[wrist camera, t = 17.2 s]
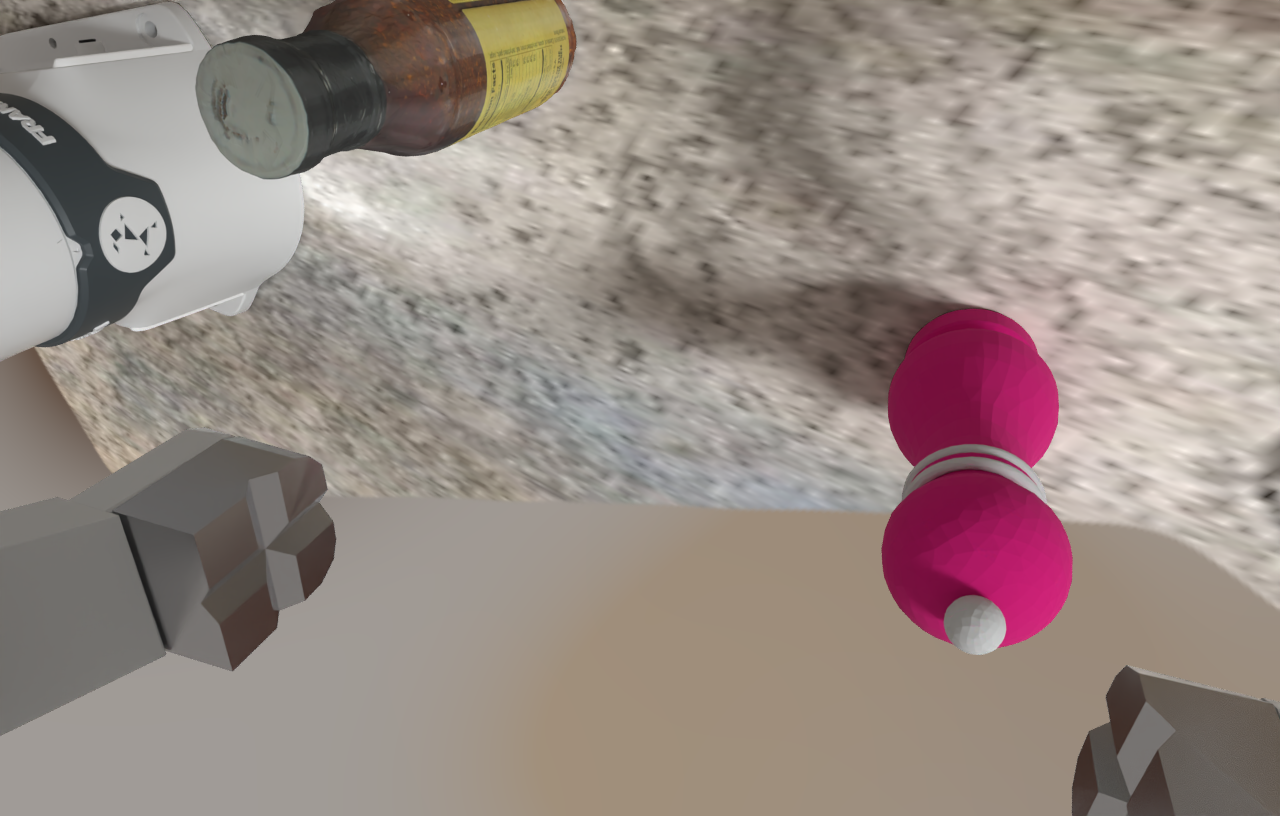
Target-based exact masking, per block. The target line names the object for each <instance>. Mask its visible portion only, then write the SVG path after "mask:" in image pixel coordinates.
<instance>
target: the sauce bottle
mask: <svg viewBox="0 0 1280 816" xmlns="http://www.w3.org/2000/svg"><path fill="white" fill-rule="evenodd" d="M575 50H576V35H575V32H574V28H573V24H572V20H571V18H570V17H569V14H568V12H567V9H566V7H565V6H564V4H563V3H562V1H561V0H336V1H334V2H333V3H331V4H329V5H326V6H324V7H320V8H319V9H317V10H315V11H314V13H313V16H312V18H311V21H310V22H309V24H308V25H307V27H306V29H305V30H304V32H303V33H301V34H299V35H297V36H295V37H290V38H285V39H274V38H271V37H267V36H261V35H250V36H243V37H240V38H237V39H233V40H230V41H227V42H224V43H222V44H217V45H216V46H214V47H213V48H212V49H211V50H209V51H208V52H207V54H206V55H205V57H204V59H203V60H202V61H201V63H200V64H199V68H198V72H197V76H196V85H195V90H196V97H197V102H198V107H199V110H200V114H201V117H202V119H203V121H204V124H205V126H206V128H207V131H208V133H209V135H210V138H211V140H212V141H213V142H214V143H215V145H216V146H217V148H218V149H219V151H220V153H221V154H222V155H223V156H224V157H225V158H226V159H227V160H228V161H230V162H231V163H232V164H233V165H235V166H236V167H238V168H239V169H240V170H242V171H244V172H247V173H249V174H251V175H254V176H257V177H259V178H262V179H280V178H285V177H288V176H291V175H295V174H299V173H302V172H305V171H308V170H309V169H311V168H313V167H314V166H316V165H317V164H318V163H320V162H321V160H322V159H323V158H324V157H326V156H329V155H331V154H334V153H337V152H340V151H350V150H354V149H364V150H371V151H378V152H385V153H388V154H391V155H396V156H419V155H426V154H430V153H433V152H436V151H439V150H441V149H444V148H446V147H448V146H451V145H453V144H455V143H457V142H460V141H462V140H464V139H466V138H468V137H470V136H472V135H475V134H477V133H479V132H482V131H484V130H486V129H489V128H491V127H493V126H496V125H498V124H500V123H502V122H504V121H506V120H509V119H511V118H513V117H516V116H518V115H520V114H523V113H525V112H527V111H530V110H532V109H534V108H536V107H538V106H540V105H542V104H543V103H544V102H546V101H547V100H548V99H549V98H550V97H552V95H553V94H555V93H557V92H558V91H559V90H560V89H561V87H562V86H563V84H564V82H565V81H566V78H567V77H568V75H569V71H570V70H571V67H572V63H573V60H574V52H575Z"/></svg>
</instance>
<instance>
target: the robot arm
mask: <svg viewBox="0 0 1280 816" xmlns="http://www.w3.org/2000/svg"><path fill="white" fill-rule="evenodd" d="M155 26H156V28H155ZM156 29H157V31H156ZM211 49H212V48H211V46H210V45H209V43H208V42H207V40H206V38H205V37H204V35H203V34H202V32H201V31H200V29H199V28H198V26H197V25H196V23H195V22H194V20H193V19H192V18H191V16H190V15H189V14H188V13H187V12H186V10H185V9H184V8H182V7H181V6H180V5H179V4H177V3H174V2H163V3H158V4H153V5H148V6H142V7H137V8H132V9H127V10H122V11H117V12H112V13H107V14H102V15H97V16H92V17H87V18H82V19H77V20H72V21H67V22H61V23H56V24H51V25H46V26H41V27H36V28H31V29H26V30H21V31H17V32H12V33H7V34H4V35H1V36H0V361H2V360H4V359H6V358H8V357H11V356H13V355H15V354H17V353H20V352H22V351H24V350H27V349H29V348H32V347H34V346H35V347H52V346H56V345H60V344H63V343H66V342H68V341H73V340H79V339H82V338H85V337H87V336H90V335H92V334H94V333H96V332H99V331H100V330H102V329H103V328H104V327H106V326H108V325H110V324H113V323H115V324H117V325H120V326H124V327H129V328H130V329H131V330H132V331H144V330H148V329H151V328H154V327H157V326H159V325H162V324H165V323H168V322H171V321H174V320H176V319H179V318H182V317H185V316H187V315H190V314H193V313H196V312H198V311H201V310H204V309H207V308H209V309H211V310H214V311H216V312H218V313H221V314H223V315H227V316H234V315H237V314H240V313H243V312H245V311H247V310H248V309H249V307H250V306H251V304H252V302H253V300H254V298H255V295H256V293H257V290H258V288H259V286H260V285H261V284H262V283H263V282H264V281H265V280H267V279H268V278H270V277H272V276H273V275H275V274H276V273H278V272H279V271H280V270H281V269H282V268H283V267H284V266H285V265H286V264H287V263H288V262H289V260H290V259H291V257H292V256H293V254H294V252H295V250H296V248H297V246H298V243H299V241H300V237H301V233H302V229H303V221H304V196H303V188H302V182H301V177H300V173H299V174H295V175H291V176H288V177H285V178H280V179H262V178H259V177H257V176H254V175H251V174H249V173H247V172H244V171H242V170H240V169H239V168H238V167H236V166H235V165H233V164H232V163H231V162H230V161H228V160H227V159H226V158H225V157H224V156H223V155H222V154H221V153H220V151H219V149H218V148H217V146H216V145H215V143H214V142H213V141H212V140H211V138H210V135H209V133H208V131H207V128H206V126H205V124H204V121H203V119H202V117H201V114H200V110H199V107H198V102H197V97H196V90H195V85H196V76H197V72H198V68H199V64H200V63H201V61H202V60H203V59H204V57H205V55H206V54H207V52H208V51H209V50H211ZM327 490H328V488H327V484H326V480H325V475H324V471H323V467H322V464H320V463H319V462H317V461H316V460H314V459H313V458H311V457H310V456H306V455H303V454H299V453H296V452H292V451H289V450H285V449H282V448H278V447H275V446H271V445H268V444H264V443H261V442H257V441H254V440H250V439H246V438H243V437H235V436H233V435H229V434H226V433H222V432H219V431H215V430H212V429H208V428H205V427H204V428H192V429H186V430H184V431H182V432H181V433H179V434H178V435H176V436H174V437H173V438H171V439H169V440H168V441H166V442H164V443H163V444H161V445H159V446H158V447H156V448H154V449H153V450H151V451H149V452H148V453H146V454H144V455H143V456H141V457H139V458H138V459H136V460H134V461H133V462H131V463H129V464H128V465H126V466H124V467H123V468H121V469H120V470H118V471H116V472H115V473H113V474H111V475H110V476H108V477H106V478H105V479H103V480H101V481H100V482H98V483H96V484H95V485H93V486H91V487H90V488H88V489H86V490H85V491H83V492H81V493H80V494H78V495H76V496H75V497H73V498H71V499H70V500H66V499H62V498H59V497H56V498H52V499H48V500H44V501H40V502H36V503H32V504H28V505H24V506H20V507H16V508H13V509H8V510H4V511H0V736H1V735H3V734H5V733H7V732H9V731H12V730H13V729H15V728H18V727H20V726H22V725H24V724H26V723H28V722H30V721H32V720H34V719H36V718H38V717H40V716H42V715H44V714H46V713H48V712H51V711H53V710H54V709H57V708H59V707H61V706H63V705H65V704H67V703H69V702H71V701H73V700H75V699H77V698H79V697H81V696H83V695H85V694H87V693H89V692H92V691H93V690H96V689H98V688H100V687H102V686H104V685H106V684H108V683H110V682H112V681H114V680H116V679H118V678H120V677H122V676H124V675H126V674H129V673H131V672H133V671H135V670H137V669H139V668H141V667H143V666H145V665H147V664H149V663H151V662H153V661H155V660H157V659H159V658H161V657H163V656H165V655H166V652H165V651H168V652H172V653H175V654H178V655H181V656H184V657H188V658H191V659H194V660H197V661H200V662H204V663H207V664H210V665H213V666H217V667H220V668H223V669H227V670H229V671H234V670H235V669H236V668H237V667H238V666H239V665H240V664H241V663H242V662H243V661H244V660H245V659H246V658H247V657H248V656H249V655H250V654H251V653H252V652H253V651H254V650H255V649H256V648H257V647H258V646H259V645H260V644H261V643H262V642H263V641H264V640H265V639H266V638H267V637H268V636H269V635H271V634H272V633H273V632H274V630H276V628H277V625H278V616H279V611H280V610H282V609H285V608H287V607H290V606H292V605H295V604H298V603H300V602H303V601H305V600H306V599H307V598H308V597H309V596H310V595H311V594H312V593H313V592H314V591H315V590H316V589H317V588H318V587H319V586H320V585H321V583H322V582H323V580H324V578H325V576H326V574H327V572H328V570H329V568H330V566H331V564H332V561H333V560H334V553H335V545H336V535H335V528H334V522H333V520H332V519H331V518H330V516H329V515H328V514H327V512H326V511H325V510H324V508H323V507H322V506H321V504H320V503H319V502H320V500H321V499H322V497H323V496H324V494H325V493H326V491H327ZM1106 701H1107V707H1108V712H1109V718H1110V722H1109V723H1106V724H1104V725H1102V726H1100V727H1097V728H1095V729H1093V730H1091V731H1089V732H1088V735H1087V737H1086V739H1085V742H1084V744H1083V746H1082V749H1081V751H1080V754H1079V756H1078V759H1077V765H1076V769H1075V775H1074V780H1073V786H1072V816H1280V702H1279V701H1274V700H1270V699H1266V698H1261V699H1258V698H1255V697H1252V696H1248V695H1244V694H1240V693H1236V692H1232V691H1228V690H1224V689H1220V688H1216V687H1212V686H1208V685H1204V684H1200V683H1196V682H1192V681H1188V680H1184V679H1180V678H1176V677H1172V676H1168V675H1164V674H1160V673H1156V672H1152V671H1148V670H1144V669H1140V668H1136V667H1132V666H1128V665H1126V666H1125V667H1124V668H1123V669H1122V670H1121V671H1120V672H1119V673H1118V674H1117V675H1116V677H1115V678H1114V680H1113V682H1112V684H1111V687H1110V688H1109V691H1108V692H1107V694H1106Z"/></svg>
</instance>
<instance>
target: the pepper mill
mask: <svg viewBox="0 0 1280 816" xmlns="http://www.w3.org/2000/svg"><path fill="white" fill-rule="evenodd" d="M1058 411H1059V402H1058V390H1057V386H1056V382H1055V379H1054V377H1053V375H1052V373H1051V371H1050V369H1049V367H1048V366H1047V364H1046V363H1045V362H1044V360H1043V359H1042V358H1041V357H1040V356H1039V355H1038V352H1037V349H1036V346H1035V344H1034V342H1033V340H1032V339H1031V337H1030V335H1029V334H1028V333H1027V332H1026V331H1025V330H1024V329H1023V328H1022V327H1021V326H1020V325H1019V324H1018V323H1016V322H1015V321H1014V320H1012V319H1010V318H1008V317H1006V316H1004V315H1002V314H1000V313H997V312H993V311H989V310H984V309H964V310H956V311H953V312H949V313H946V314H944V315H941V316H939V317H937V318H935V319H934V320H932V321H931V322H929V323H928V324H926V325H925V326H924V327H923V328H922V329H921V330H920V331H919V332H918V333H917V334H916V335H915V336H914V338H913V339H912V341H911V343H910V344H909V347H908V349H907V352H906V355H905V359H904V361H903V362H902V363H901V364H900V366H899V367H898V369H897V371H896V373H895V375H894V377H893V379H892V382H891V385H890V389H889V395H888V418H889V423H890V428H891V431H892V433H893V436H894V438H895V440H896V442H897V444H898V446H899V449H900V450H901V452H902V453H903V455H904V456H905V457H906V459H907V460H908V461H909V462H910V463H911V464H912V465H913V466H914V468H913V470H912V471H911V472H910V474H909V475H908V477H907V479H906V482H905V484H904V488H903V493H902V502H901V503H900V504H899V505H898V506H897V507H896V509H895V510H894V511H893V512H892V514H891V517H890V519H889V521H888V524H887V526H886V529H885V533H884V538H883V544H882V564H883V572H884V578H885V580H886V583H887V585H888V588H889V590H890V592H891V594H892V596H893V598H894V600H895V601H896V603H897V604H898V606H899V608H900V609H901V610H902V611H903V612H904V613H905V614H906V615H907V616H908V617H909V618H910V619H911V621H913V622H914V623H915V624H916V625H918V626H919V627H920V628H921V629H922V630H924V631H925V632H927V633H929V634H930V635H932V636H934V637H936V638H938V639H941V640H944V641H946V642H949V643H951V644H954V645H955V646H956V647H957V648H959V649H960V650H962V651H964V652H966V653H969V654H978V655H982V654H986V653H989V652H991V651H994V650H995V649H996V648H1000V647H1004V646H1009V645H1012V644H1016V643H1019V642H1021V641H1024V640H1026V639H1028V638H1030V637H1032V636H1033V635H1035V634H1037V633H1038V632H1039V631H1041V630H1042V629H1043V628H1045V627H1046V626H1047V625H1048V624H1049V623H1051V621H1052V620H1053V619H1054V618H1055V616H1056V615H1057V614H1058V612H1059V611H1060V610H1061V608H1062V606H1063V605H1064V603H1065V601H1066V599H1067V596H1068V592H1069V589H1070V586H1071V582H1072V552H1071V546H1070V543H1069V540H1068V536H1067V534H1066V532H1065V530H1064V528H1063V525H1062V523H1061V521H1060V520H1059V519H1058V517H1057V516H1056V515H1055V513H1054V512H1053V511H1052V509H1051V508H1050V507H1049V506H1048V505H1047V501H1046V493H1045V490H1044V487H1043V485H1042V483H1041V481H1040V479H1039V478H1038V476H1037V474H1036V473H1035V472H1034V471H1033V470H1032V469H1031V468H1032V467H1033V466H1034V465H1035V464H1036V463H1037V462H1038V461H1039V460H1040V459H1041V458H1042V457H1043V455H1044V453H1045V452H1046V450H1047V449H1048V447H1049V445H1050V443H1051V441H1052V438H1053V436H1054V433H1055V430H1056V427H1057V425H1058Z"/></svg>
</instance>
